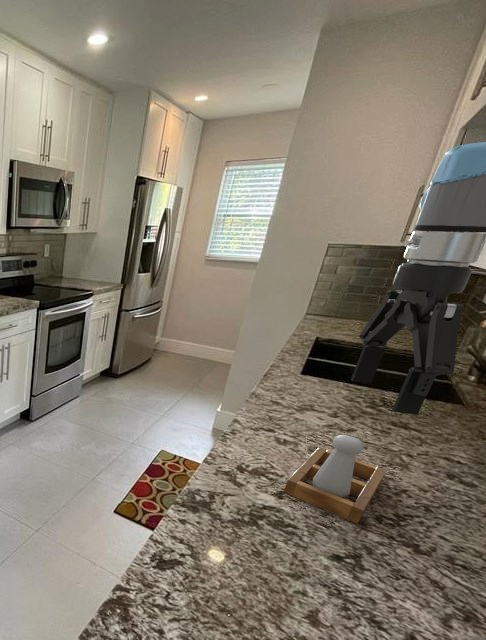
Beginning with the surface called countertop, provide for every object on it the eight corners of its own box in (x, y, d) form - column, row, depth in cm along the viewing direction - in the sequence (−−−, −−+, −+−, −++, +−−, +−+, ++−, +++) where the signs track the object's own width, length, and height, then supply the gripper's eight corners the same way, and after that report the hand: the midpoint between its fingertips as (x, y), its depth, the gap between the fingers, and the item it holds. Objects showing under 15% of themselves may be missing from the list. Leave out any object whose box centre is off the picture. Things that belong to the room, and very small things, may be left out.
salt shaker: (334, 508, 78) (359, 449, 73) (302, 490, 83) (324, 434, 78) (352, 501, 80) (377, 443, 75) (319, 484, 85) (341, 429, 80)
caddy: (381, 481, 86) (386, 469, 85) (357, 524, 74) (363, 510, 73) (315, 457, 95) (319, 446, 94) (283, 492, 82) (287, 479, 81)
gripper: (363, 256, 72) (323, 369, 80) (463, 270, 50) (394, 424, 58) (417, 258, 70) (370, 374, 78) (546, 274, 48) (463, 433, 56)
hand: (380, 396), depth 68 cm, fingers open, 13 cm apart
